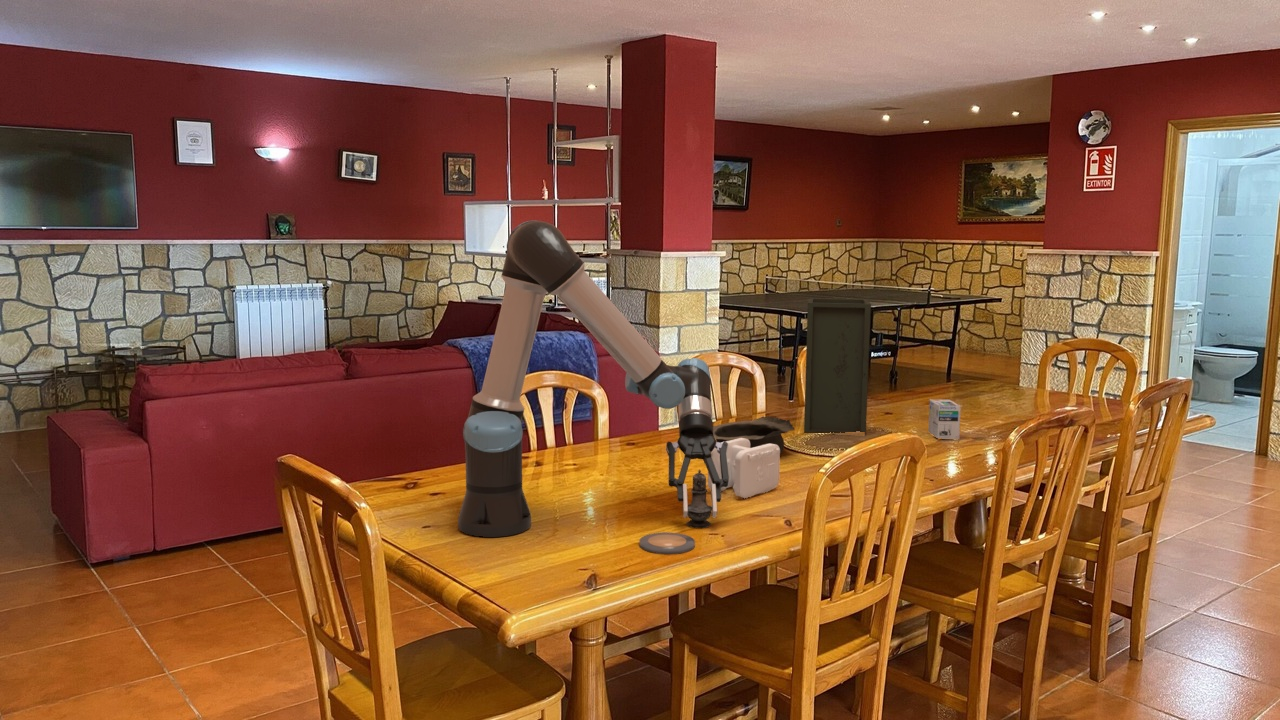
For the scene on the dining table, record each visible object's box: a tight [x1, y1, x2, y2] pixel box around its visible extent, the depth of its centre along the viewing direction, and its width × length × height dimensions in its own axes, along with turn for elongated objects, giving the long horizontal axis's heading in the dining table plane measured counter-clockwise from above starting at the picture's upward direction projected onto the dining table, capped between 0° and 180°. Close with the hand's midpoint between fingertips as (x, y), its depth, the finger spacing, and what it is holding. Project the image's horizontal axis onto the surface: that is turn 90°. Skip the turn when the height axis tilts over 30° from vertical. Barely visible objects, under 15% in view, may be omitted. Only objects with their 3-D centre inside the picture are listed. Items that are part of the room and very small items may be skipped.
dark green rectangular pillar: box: [803, 298, 872, 434], centre depth 301 cm, size 18×18×40 cm
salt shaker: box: [685, 469, 712, 529], centre depth 205 cm, size 6×6×12 cm
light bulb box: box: [927, 398, 962, 440], centre depth 293 cm, size 11×7×11 cm, turn 179°
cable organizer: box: [707, 438, 781, 500], centre depth 231 cm, size 15×11×12 cm
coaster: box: [639, 531, 696, 555], centre depth 193 cm, size 11×11×1 cm
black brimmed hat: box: [713, 416, 796, 454], centre depth 271 cm, size 25×25×9 cm
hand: (700, 514), depth 202 cm, fingers closed on salt shaker, 5 cm apart
